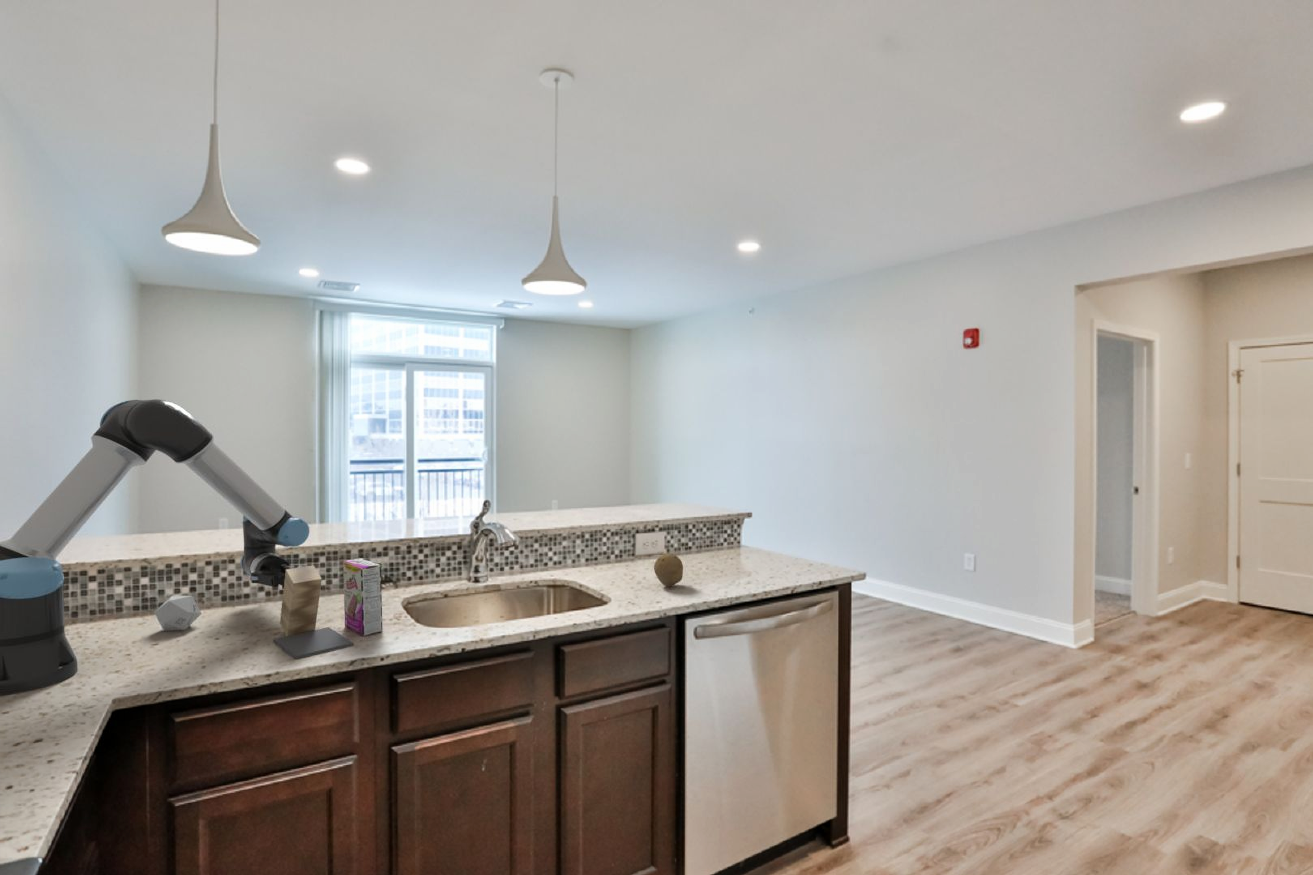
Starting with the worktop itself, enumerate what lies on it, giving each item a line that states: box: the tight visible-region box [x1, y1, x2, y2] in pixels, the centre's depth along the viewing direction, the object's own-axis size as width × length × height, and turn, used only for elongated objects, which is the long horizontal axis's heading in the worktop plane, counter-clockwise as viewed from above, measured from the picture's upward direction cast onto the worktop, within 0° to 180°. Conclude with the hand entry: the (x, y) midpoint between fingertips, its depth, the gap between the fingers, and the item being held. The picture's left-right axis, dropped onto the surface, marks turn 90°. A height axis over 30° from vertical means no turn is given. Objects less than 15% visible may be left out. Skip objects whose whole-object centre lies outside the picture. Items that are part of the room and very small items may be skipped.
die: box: [153, 595, 202, 632], centre depth 161 cm, size 8×9×10 cm
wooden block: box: [279, 564, 323, 636], centre depth 155 cm, size 6×6×15 cm
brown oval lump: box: [653, 552, 684, 588], centre depth 198 cm, size 9×9×10 cm
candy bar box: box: [342, 557, 384, 637], centre depth 159 cm, size 11×5×16 cm, turn 47°
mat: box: [272, 626, 355, 660], centre depth 149 cm, size 12×16×1 cm
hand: (299, 584), depth 158 cm, fingers closed
